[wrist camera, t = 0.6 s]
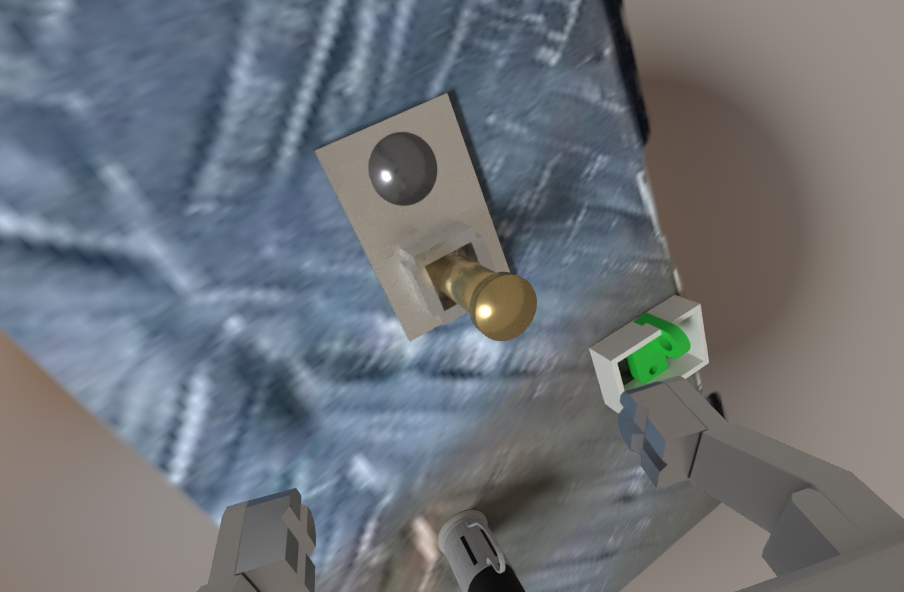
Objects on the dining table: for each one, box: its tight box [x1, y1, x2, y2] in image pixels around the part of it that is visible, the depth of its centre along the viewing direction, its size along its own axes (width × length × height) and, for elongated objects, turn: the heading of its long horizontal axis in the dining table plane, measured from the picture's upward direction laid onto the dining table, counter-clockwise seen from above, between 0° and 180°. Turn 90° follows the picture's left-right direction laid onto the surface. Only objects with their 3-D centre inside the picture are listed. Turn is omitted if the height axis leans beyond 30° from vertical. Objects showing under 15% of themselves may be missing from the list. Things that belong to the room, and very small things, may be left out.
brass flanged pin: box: [426, 251, 537, 341], centre depth 49 cm, size 6×6×16 cm
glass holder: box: [438, 510, 525, 592], centre depth 64 cm, size 9×14×15 cm, turn 2°
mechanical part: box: [626, 312, 691, 384], centre depth 71 cm, size 12×6×8 cm, turn 25°
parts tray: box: [589, 295, 709, 413], centre depth 73 cm, size 12×18×5 cm, turn 113°
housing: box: [314, 93, 510, 341], centre depth 52 cm, size 25×16×6 cm, turn 23°
